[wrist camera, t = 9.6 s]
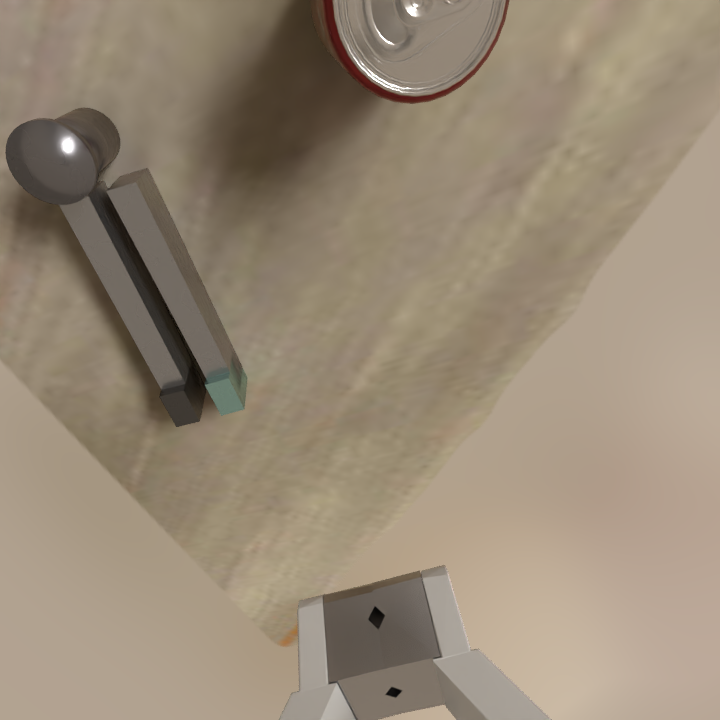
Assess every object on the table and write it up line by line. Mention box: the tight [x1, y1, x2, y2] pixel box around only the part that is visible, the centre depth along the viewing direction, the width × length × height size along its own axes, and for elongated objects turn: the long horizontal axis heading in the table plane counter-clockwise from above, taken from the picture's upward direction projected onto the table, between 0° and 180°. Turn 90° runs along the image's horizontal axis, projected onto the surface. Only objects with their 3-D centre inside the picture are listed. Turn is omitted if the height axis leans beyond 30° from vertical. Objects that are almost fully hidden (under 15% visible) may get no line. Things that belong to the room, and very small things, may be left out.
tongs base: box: [6, 108, 206, 427], centre depth 33 cm, size 22×4×7 cm, turn 12°
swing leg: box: [107, 168, 247, 416], centre depth 36 cm, size 17×2×4 cm, turn 14°
